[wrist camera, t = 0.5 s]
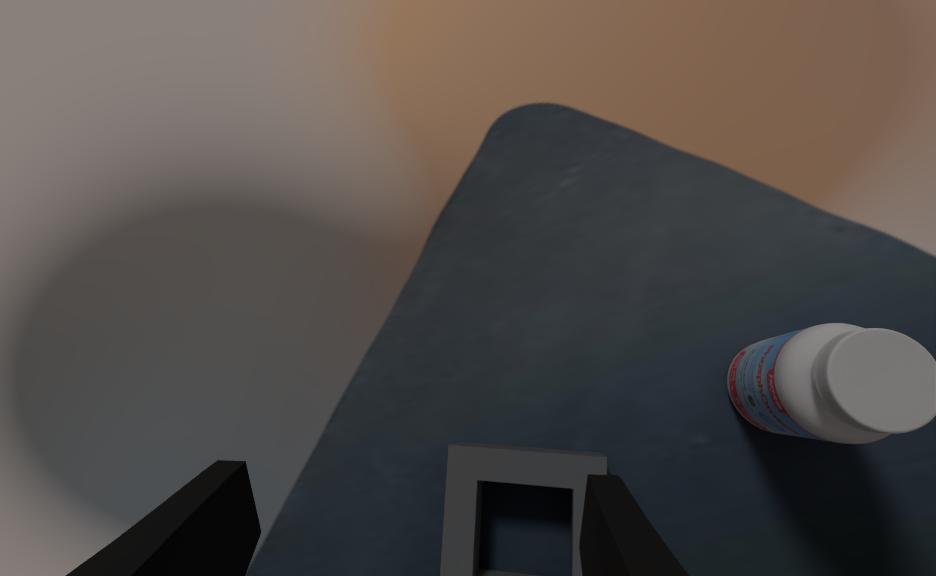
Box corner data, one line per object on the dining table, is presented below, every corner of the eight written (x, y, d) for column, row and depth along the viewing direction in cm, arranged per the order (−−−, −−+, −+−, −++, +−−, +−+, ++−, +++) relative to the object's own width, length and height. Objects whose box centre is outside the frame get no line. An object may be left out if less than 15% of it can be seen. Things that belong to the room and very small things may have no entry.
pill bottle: (711, 353, 34) (786, 329, 23) (803, 331, 33) (926, 295, 22) (744, 443, 32) (841, 464, 21) (841, 422, 31) (993, 432, 21)
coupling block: (602, 618, 31) (607, 640, 28) (447, 597, 33) (437, 616, 30) (602, 452, 33) (607, 457, 30) (457, 441, 35) (448, 444, 32)
